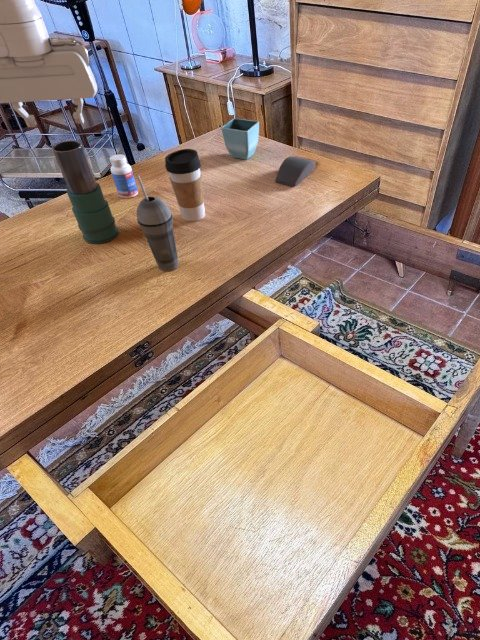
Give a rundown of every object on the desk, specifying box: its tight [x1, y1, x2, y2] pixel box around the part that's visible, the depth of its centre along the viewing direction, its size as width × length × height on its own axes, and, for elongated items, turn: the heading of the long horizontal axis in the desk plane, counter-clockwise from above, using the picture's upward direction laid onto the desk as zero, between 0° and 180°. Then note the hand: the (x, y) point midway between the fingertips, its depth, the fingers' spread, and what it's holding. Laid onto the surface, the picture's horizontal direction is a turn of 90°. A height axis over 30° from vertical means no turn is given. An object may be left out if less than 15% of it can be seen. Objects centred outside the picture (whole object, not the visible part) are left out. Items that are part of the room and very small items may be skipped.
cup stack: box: [66, 182, 120, 245], centre depth 106 cm, size 9×9×12 cm
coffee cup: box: [164, 148, 206, 222], centre depth 109 cm, size 8×8×15 cm
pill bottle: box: [109, 154, 139, 199], centre depth 120 cm, size 6×5×10 cm
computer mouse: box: [274, 156, 316, 188], centre depth 128 cm, size 8×14×4 cm, turn 151°
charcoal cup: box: [51, 140, 98, 195], centre depth 98 cm, size 6×6×9 cm
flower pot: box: [220, 117, 260, 161], centre depth 135 cm, size 9×9×9 cm
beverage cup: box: [136, 174, 179, 272], centre depth 93 cm, size 7×7×20 cm
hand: (56, 124), depth 91 cm, fingers open, 8 cm apart
